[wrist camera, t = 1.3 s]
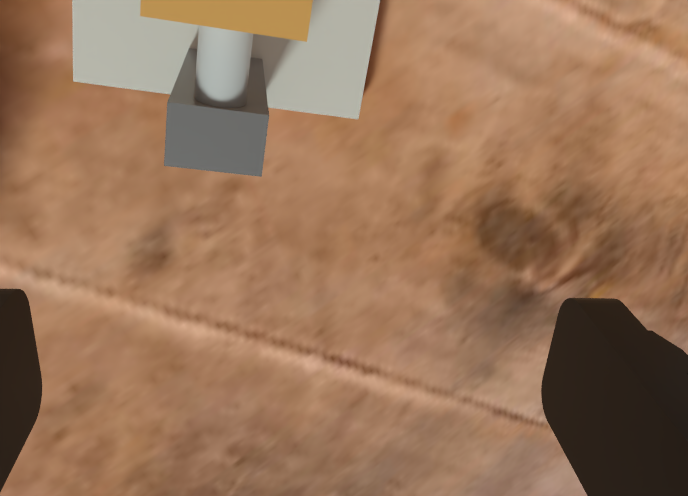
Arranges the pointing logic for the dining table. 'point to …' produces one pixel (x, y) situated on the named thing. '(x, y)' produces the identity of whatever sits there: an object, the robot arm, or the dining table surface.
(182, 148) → the cable stand
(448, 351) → the dining table surface
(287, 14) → the sleeve
